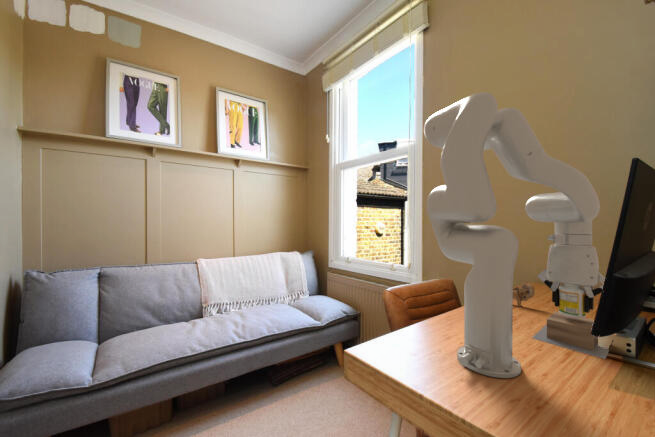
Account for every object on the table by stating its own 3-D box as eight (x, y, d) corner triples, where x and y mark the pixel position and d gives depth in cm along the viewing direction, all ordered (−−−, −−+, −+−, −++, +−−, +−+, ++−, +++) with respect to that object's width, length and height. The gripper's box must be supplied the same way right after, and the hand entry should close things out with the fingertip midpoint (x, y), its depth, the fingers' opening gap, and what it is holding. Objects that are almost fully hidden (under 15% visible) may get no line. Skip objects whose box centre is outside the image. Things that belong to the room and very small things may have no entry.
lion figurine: (535, 308, 99) (535, 283, 99) (533, 312, 95) (534, 286, 95) (489, 300, 109) (489, 277, 109) (486, 303, 105) (486, 279, 105)
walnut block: (592, 350, 67) (592, 329, 67) (546, 337, 74) (546, 319, 74) (598, 339, 72) (598, 320, 72) (555, 328, 79) (555, 311, 79)
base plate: (605, 362, 63) (605, 359, 62) (531, 340, 73) (531, 338, 73) (613, 342, 73) (613, 339, 73) (547, 325, 83) (547, 323, 83)
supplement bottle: (569, 318, 70) (569, 281, 70) (553, 311, 76) (554, 276, 76) (591, 319, 70) (591, 281, 70) (574, 312, 75) (575, 277, 75)
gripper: (529, 239, 77) (529, 303, 77) (617, 244, 64) (617, 321, 64) (537, 238, 82) (537, 298, 82) (621, 242, 68) (620, 314, 69)
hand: (572, 307), depth 73 cm, fingers closed on supplement bottle, 5 cm apart
